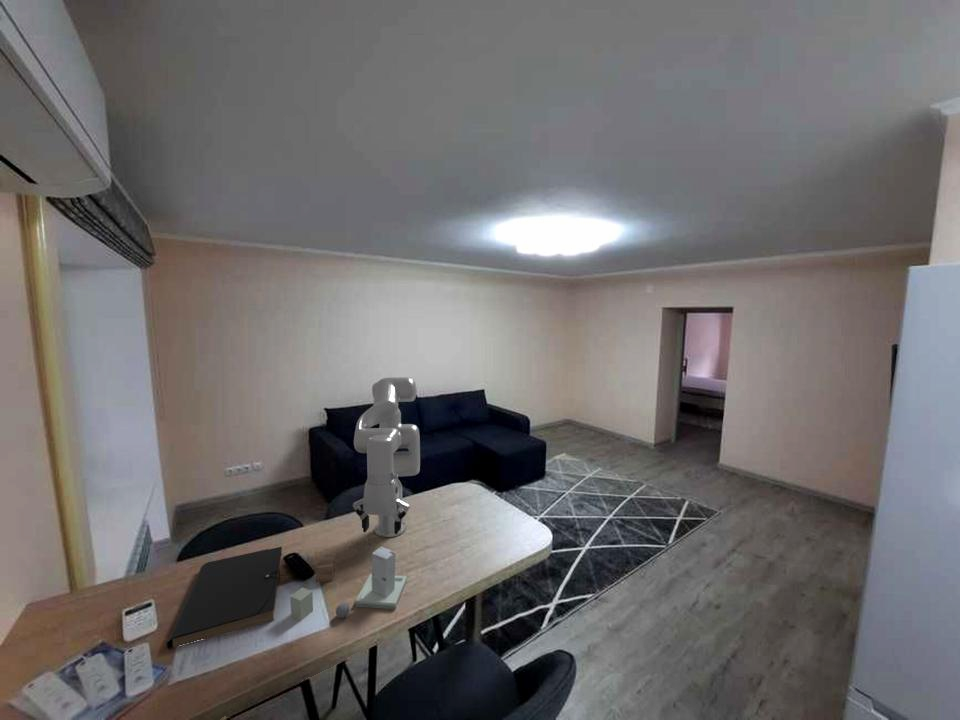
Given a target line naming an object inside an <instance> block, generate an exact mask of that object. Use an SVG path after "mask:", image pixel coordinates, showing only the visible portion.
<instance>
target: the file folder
mask: <svg viewBox="0 0 960 720" xmlns="http://www.w3.org/2000/svg"><path fill="white" fill-rule="evenodd" d="M282 550H283V547H282V546H277V547H274V548H270V549H269V548H267V549H262V550H258V551H253V552H250V553H249V552H248V553H244V554H239V555H235V556H231V557H226V558H220V559H216V560H213V561H212V560H211V561H208V562H206V563H203V564H202V566H201V567H200V569H199V571H198V573H197V575H196V578H195V580H194V582H193V584H192V587H191V589H190V590H189V594H188V595H187V598H186V600H185V602H184V605H183V606H182V609H181V611H180V613H179V615H178V617H177V620H176V622H175V625H174V626H173V629H172V631H171V633H170V635H169V637H168V640H167V642H166V648H167V649H168V650H171V648H172V647H173V649H174V648H175V649H176V648H178V646H179V645H183V644H187V643H190V644H192V643H191V642H194V641H197V640H201V639H205V640H209V639H213V638H216V637H220V636H222V635H226V634H227V635H228V634H231V633H235V632H238V631H242V630H244V629H248V628H251V627H255V626H258V625H262V624H266V623H269V622H273V621H274V620H275V617H274V616H275V610H276V603H277V596H278V594H277V593H278V592H277V588H278V584H280V580H281V573H280V567H281V560H282V556H283V551H282ZM201 641H202V640H201ZM194 643H195V642H194ZM187 645H188V644H187ZM183 646H184V645H183ZM179 647H180V646H179Z"/></svg>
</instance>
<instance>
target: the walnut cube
mask: <svg viewBox="0 0 960 720" xmlns="http://www.w3.org/2000/svg"><path fill="white" fill-rule="evenodd" d="M335 573H336V556H329V557H321V558H320V557H319V558H318V561H317V563H316V566H315V582H316V583H323V582H332V581H333V580H334V577H335Z"/></svg>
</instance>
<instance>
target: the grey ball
mask: <svg viewBox="0 0 960 720" xmlns="http://www.w3.org/2000/svg"><path fill="white" fill-rule="evenodd" d="M349 613H350V605H349V604H348V603H347V602H342V603H339V604H338V606H337V607H336V609H335V614H336V617H338V618H339V619H344V618H346V617H347V616H348V615H349Z"/></svg>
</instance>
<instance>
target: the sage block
mask: <svg viewBox="0 0 960 720" xmlns="http://www.w3.org/2000/svg"><path fill="white" fill-rule="evenodd" d="M289 597H290V617H293V619H296V620H298V621H300V622H301V621H303V620H304V619H305V618H307V616H309V615H310V614H312V613H313V612H314V601H313V600H314V599H313V591H312V590H310V589H307V588H305V587H301V588H300V589H298V590H297V591H296V592H294V593H293V594H291V595H290V596H289Z"/></svg>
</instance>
